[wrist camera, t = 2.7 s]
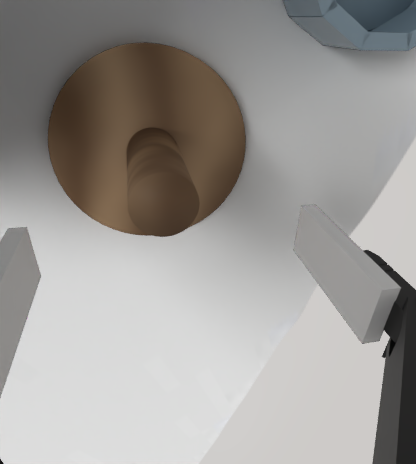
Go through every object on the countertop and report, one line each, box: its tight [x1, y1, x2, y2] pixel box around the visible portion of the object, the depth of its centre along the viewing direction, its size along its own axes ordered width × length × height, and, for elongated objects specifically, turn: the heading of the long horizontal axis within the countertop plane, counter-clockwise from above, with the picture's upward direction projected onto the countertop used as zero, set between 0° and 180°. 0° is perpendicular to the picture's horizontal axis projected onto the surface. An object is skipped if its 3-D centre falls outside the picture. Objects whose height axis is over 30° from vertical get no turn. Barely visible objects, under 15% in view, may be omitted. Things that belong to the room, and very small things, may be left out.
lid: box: [48, 43, 246, 237], centre depth 23 cm, size 15×15×10 cm
